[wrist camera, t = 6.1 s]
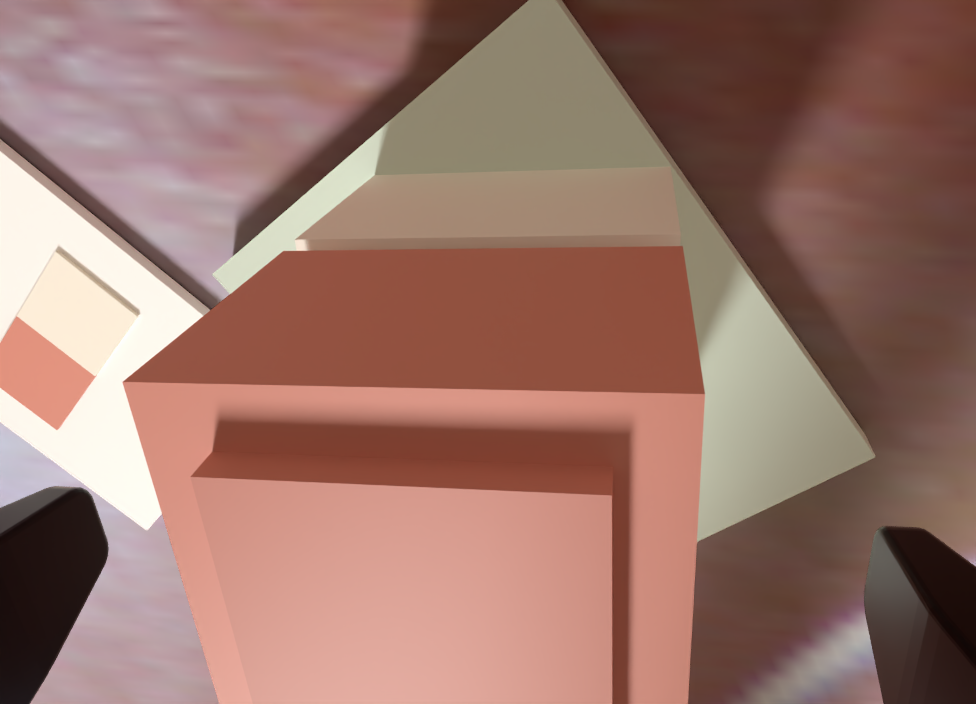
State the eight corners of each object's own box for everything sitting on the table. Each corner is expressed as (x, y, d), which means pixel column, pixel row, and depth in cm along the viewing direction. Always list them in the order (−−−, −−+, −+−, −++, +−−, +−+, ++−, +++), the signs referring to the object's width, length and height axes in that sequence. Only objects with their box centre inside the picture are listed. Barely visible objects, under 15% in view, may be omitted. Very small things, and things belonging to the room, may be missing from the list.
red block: (670, 577, 11) (684, 853, 8) (340, 557, 12) (221, 796, 9) (683, 246, 9) (708, 420, 6) (283, 250, 10) (94, 404, 7)
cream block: (662, 431, 15) (669, 576, 11) (407, 423, 16) (340, 557, 12) (671, 166, 13) (682, 244, 9) (374, 174, 14) (282, 249, 10)
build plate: (864, 434, 15) (875, 456, 14) (534, 595, 18) (530, 620, 18) (550, -16, 13) (545, -15, 12) (230, 260, 16) (212, 274, 15)
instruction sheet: (285, 370, 17) (277, 380, 16) (153, 522, 19) (144, 533, 19) (-40, 106, 15) (-56, 110, 15) (-136, 308, 18) (-151, 315, 18)
